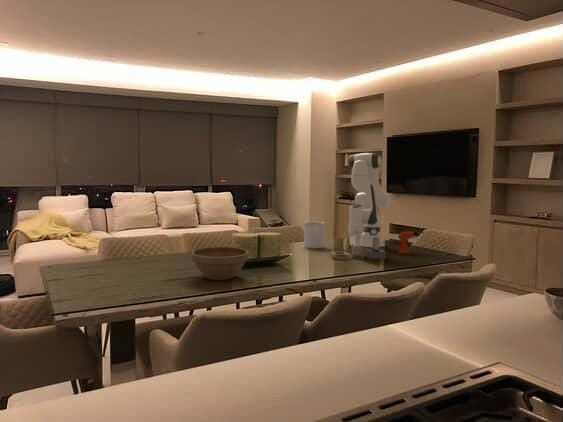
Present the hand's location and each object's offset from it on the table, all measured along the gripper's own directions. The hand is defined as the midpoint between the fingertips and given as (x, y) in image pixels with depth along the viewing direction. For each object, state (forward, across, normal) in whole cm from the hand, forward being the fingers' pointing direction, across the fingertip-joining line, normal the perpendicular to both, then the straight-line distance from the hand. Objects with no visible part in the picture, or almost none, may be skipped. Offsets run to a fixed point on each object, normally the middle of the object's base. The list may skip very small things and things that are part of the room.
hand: (355, 251), depth 290 cm
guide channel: (+3, -2, 0) cm, 3 cm away
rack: (+3, -6, +11) cm, 13 cm away
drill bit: (+3, -4, -12) cm, 13 cm away
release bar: (+3, -4, 0) cm, 5 cm away
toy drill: (+3, +12, -39) cm, 41 cm away
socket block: (+3, -4, -12) cm, 13 cm away
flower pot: (+3, -59, +79) cm, 98 cm away
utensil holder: (+3, +36, +23) cm, 42 cm away
